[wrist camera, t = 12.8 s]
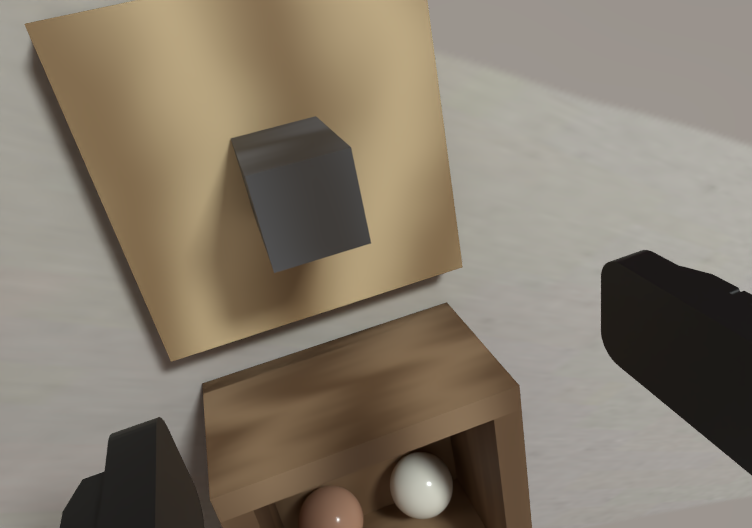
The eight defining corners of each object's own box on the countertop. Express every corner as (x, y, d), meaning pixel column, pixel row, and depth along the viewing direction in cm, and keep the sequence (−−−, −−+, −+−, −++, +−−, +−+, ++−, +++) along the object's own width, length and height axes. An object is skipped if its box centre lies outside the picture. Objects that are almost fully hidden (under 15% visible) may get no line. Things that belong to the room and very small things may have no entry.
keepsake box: (272, 554, 32) (294, 686, 26) (202, 383, 27) (209, 499, 20) (472, 475, 34) (536, 579, 28) (447, 302, 29) (519, 385, 23)
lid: (171, 339, 26) (170, 443, 20) (36, 21, 19) (-24, 33, 14) (446, 251, 28) (519, 321, 22) (401, -56, 22) (485, -73, 16)
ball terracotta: (301, 528, 31) (313, 581, 28) (286, 485, 29) (297, 537, 27) (359, 505, 31) (377, 555, 29) (347, 462, 30) (364, 510, 27)
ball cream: (387, 494, 32) (407, 543, 29) (376, 451, 30) (396, 498, 27) (442, 473, 32) (466, 518, 29) (434, 430, 31) (459, 473, 28)
